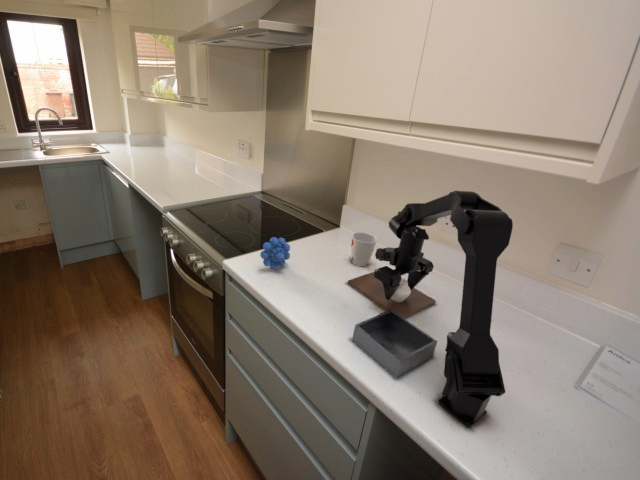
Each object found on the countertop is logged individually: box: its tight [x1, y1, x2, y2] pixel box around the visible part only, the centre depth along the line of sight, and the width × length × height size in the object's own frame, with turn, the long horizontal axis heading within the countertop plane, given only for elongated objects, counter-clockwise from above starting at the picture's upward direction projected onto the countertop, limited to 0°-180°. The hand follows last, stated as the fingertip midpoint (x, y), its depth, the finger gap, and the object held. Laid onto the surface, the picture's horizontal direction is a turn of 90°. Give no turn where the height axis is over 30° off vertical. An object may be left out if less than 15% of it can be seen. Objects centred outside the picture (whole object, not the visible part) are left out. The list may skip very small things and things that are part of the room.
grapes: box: [259, 236, 291, 270], centre depth 111 cm, size 12×7×12 cm, turn 120°
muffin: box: [391, 277, 411, 302], centre depth 98 cm, size 6×6×7 cm
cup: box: [350, 232, 378, 267], centre depth 119 cm, size 8×8×10 cm
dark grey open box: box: [351, 310, 438, 379], centre depth 82 cm, size 13×13×5 cm
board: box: [347, 271, 437, 319], centre depth 104 cm, size 20×16×1 cm
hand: (397, 294), depth 99 cm, fingers open, 9 cm apart
